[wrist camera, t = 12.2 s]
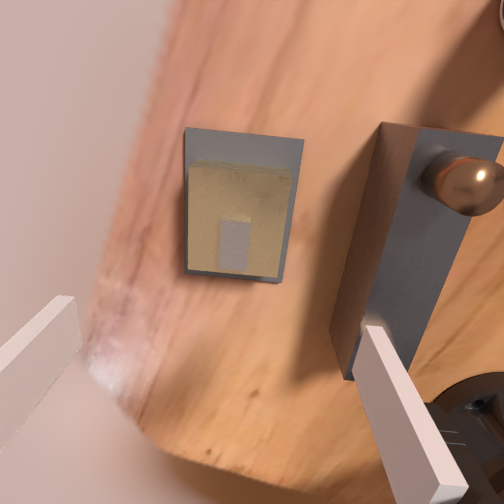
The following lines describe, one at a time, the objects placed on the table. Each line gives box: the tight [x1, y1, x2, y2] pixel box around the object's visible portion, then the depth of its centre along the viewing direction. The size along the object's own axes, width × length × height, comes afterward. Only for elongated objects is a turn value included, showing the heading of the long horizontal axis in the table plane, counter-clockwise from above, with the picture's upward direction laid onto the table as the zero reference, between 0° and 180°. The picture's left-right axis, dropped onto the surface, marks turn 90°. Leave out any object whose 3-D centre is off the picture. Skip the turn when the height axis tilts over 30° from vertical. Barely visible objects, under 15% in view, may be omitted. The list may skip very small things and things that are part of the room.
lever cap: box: [188, 159, 292, 278], centre depth 28 cm, size 9×8×4 cm
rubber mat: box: [185, 127, 304, 283], centre depth 30 cm, size 14×10×1 cm
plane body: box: [329, 122, 504, 381], centre depth 26 cm, size 22×6×11 cm, turn 175°
